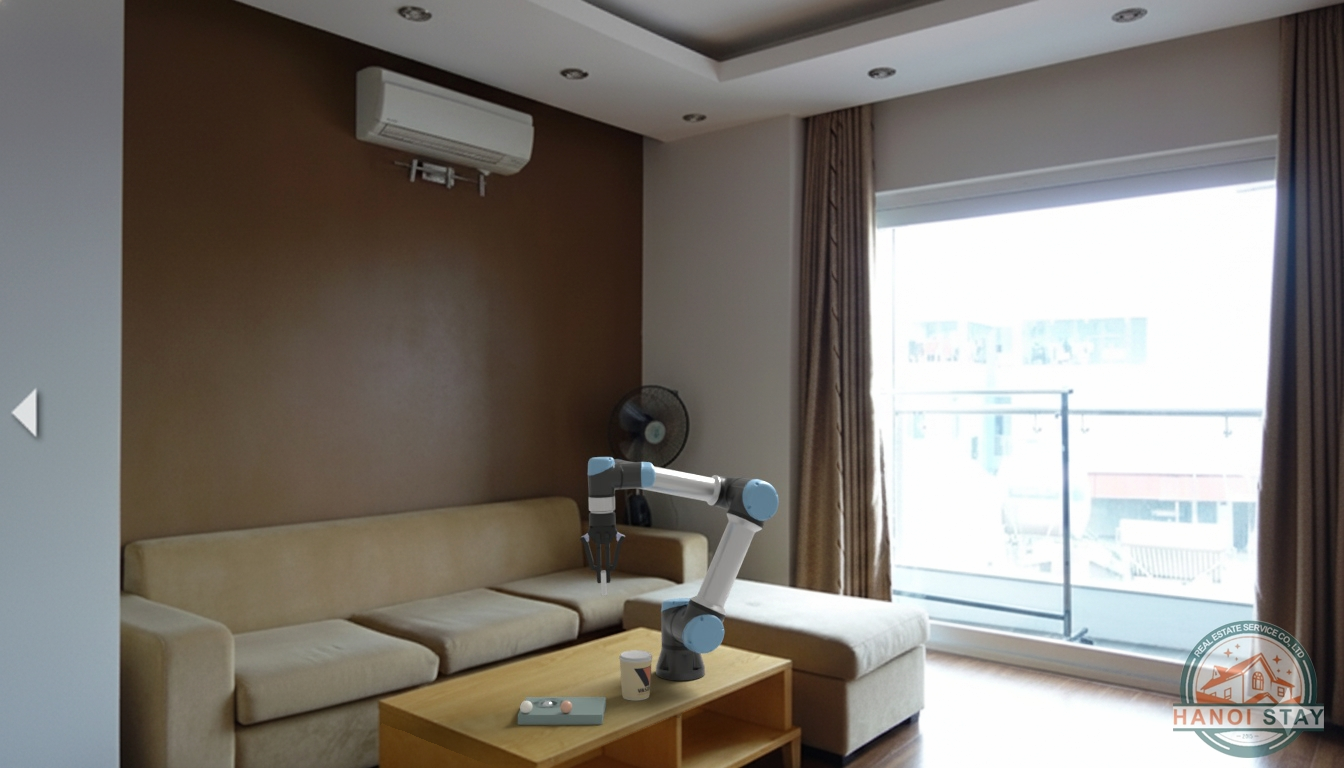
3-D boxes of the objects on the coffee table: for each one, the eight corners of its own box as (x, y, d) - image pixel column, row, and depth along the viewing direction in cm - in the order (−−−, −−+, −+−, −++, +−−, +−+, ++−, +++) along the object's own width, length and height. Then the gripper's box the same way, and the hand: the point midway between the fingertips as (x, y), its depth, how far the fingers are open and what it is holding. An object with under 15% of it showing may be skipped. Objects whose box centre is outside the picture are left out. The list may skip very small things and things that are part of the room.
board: (605, 705, 264) (605, 696, 264) (602, 724, 249) (602, 714, 249) (526, 706, 264) (526, 697, 264) (517, 724, 249) (517, 715, 249)
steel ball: (556, 705, 260) (549, 696, 260) (555, 709, 257) (547, 700, 257) (547, 713, 260) (540, 703, 260) (545, 717, 257) (538, 707, 257)
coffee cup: (640, 703, 266) (640, 660, 266) (613, 698, 271) (612, 655, 271) (658, 694, 274) (658, 652, 274) (631, 689, 279) (631, 648, 279)
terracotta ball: (573, 710, 252) (573, 698, 252) (571, 714, 249) (571, 702, 249) (560, 711, 252) (560, 698, 252) (559, 715, 249) (559, 702, 249)
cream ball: (533, 711, 252) (533, 698, 252) (531, 715, 249) (531, 702, 249) (521, 711, 252) (521, 698, 252) (519, 715, 249) (519, 702, 249)
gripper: (625, 509, 276) (627, 590, 276) (580, 510, 276) (582, 592, 276) (624, 512, 269) (626, 596, 268) (578, 513, 268) (580, 597, 268)
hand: (604, 594), depth 272 cm, fingers closed
